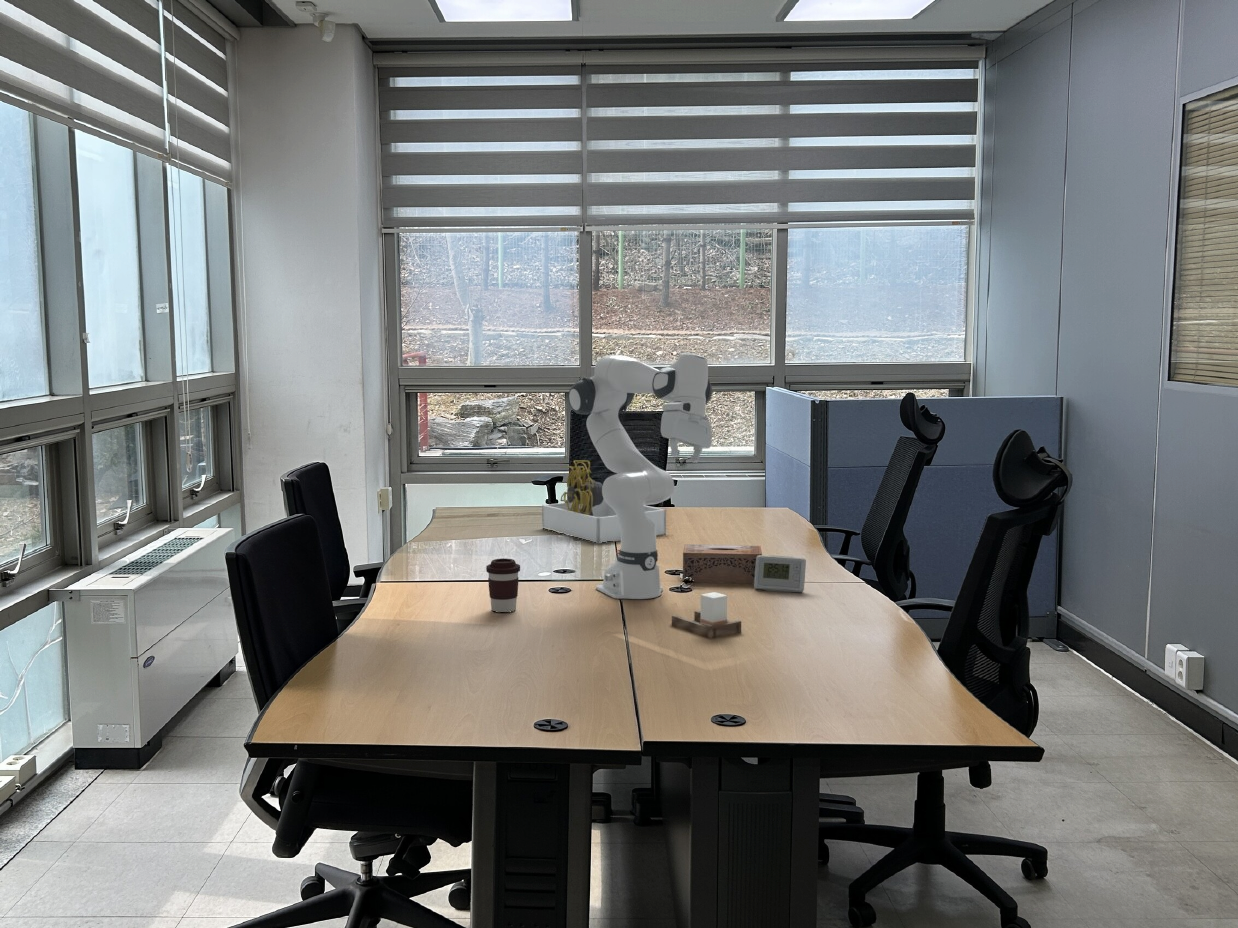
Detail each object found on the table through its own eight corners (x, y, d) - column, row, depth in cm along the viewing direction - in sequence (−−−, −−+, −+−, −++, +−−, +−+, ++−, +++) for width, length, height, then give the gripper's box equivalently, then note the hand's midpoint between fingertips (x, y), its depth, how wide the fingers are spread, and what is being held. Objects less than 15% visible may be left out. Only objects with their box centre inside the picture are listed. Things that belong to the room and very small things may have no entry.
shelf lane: (669, 630, 298) (669, 614, 298) (699, 623, 305) (699, 608, 304) (710, 644, 285) (710, 627, 284) (741, 637, 291) (741, 621, 291)
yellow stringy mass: (559, 528, 456) (558, 457, 452) (631, 524, 465) (631, 454, 462) (576, 539, 431) (575, 464, 427) (651, 534, 441) (652, 461, 437)
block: (698, 630, 293) (698, 594, 292) (712, 627, 296) (713, 591, 295) (712, 635, 288) (713, 598, 287) (727, 631, 291) (727, 595, 290)
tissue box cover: (760, 574, 369) (760, 545, 368) (761, 584, 355) (762, 554, 354) (684, 572, 372) (684, 544, 370) (682, 582, 357) (683, 552, 356)
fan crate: (542, 528, 454) (542, 505, 453) (608, 520, 474) (608, 497, 473) (597, 543, 422) (597, 518, 421) (665, 533, 442) (665, 509, 441)
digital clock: (751, 589, 346) (751, 557, 345) (761, 584, 354) (762, 552, 353) (799, 595, 338) (800, 562, 337) (809, 589, 346) (810, 557, 345)
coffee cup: (515, 615, 314) (514, 564, 312) (482, 613, 316) (481, 563, 314) (524, 607, 324) (524, 557, 322) (493, 605, 326) (492, 556, 324)
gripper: (700, 418, 311) (696, 465, 310) (658, 403, 296) (654, 453, 294) (719, 417, 308) (714, 465, 306) (677, 402, 292) (673, 452, 290)
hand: (684, 459), depth 300 cm, fingers open, 8 cm apart
